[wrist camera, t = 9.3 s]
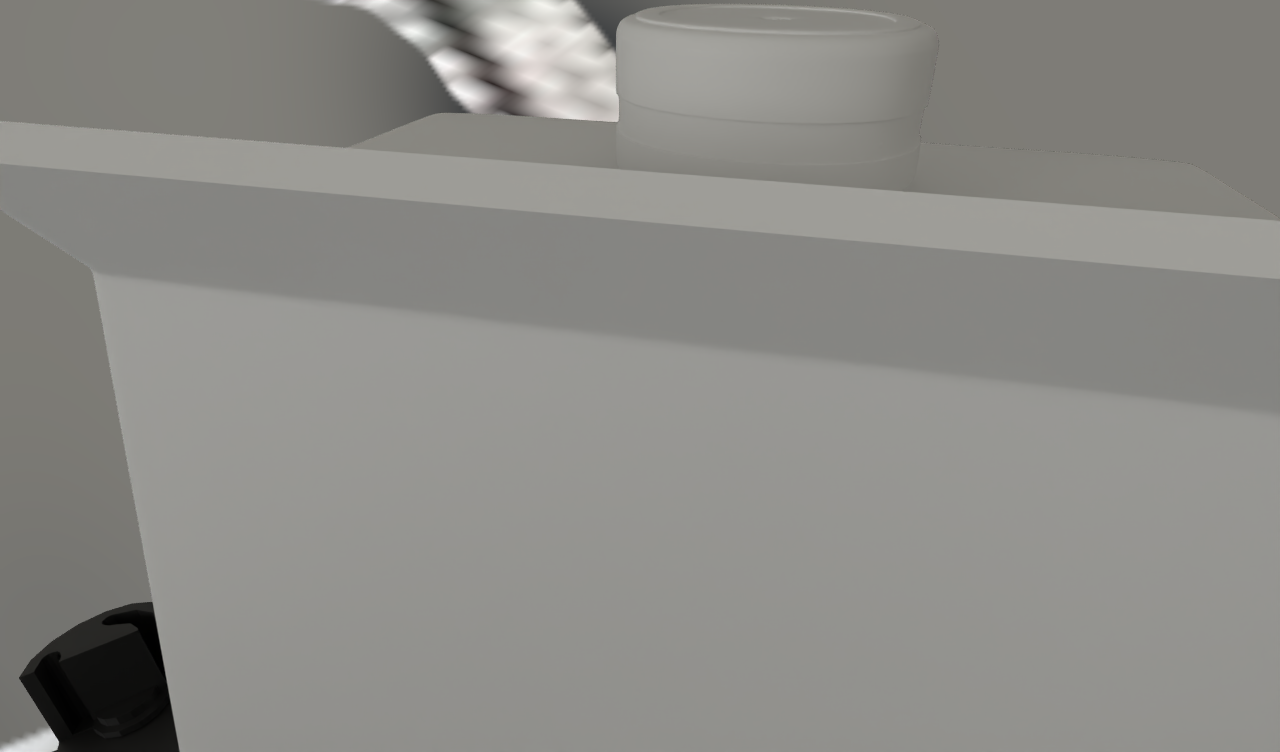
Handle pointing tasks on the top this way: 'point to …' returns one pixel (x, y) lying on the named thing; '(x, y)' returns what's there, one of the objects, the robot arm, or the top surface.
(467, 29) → the top surface
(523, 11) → the top surface
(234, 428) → the milk carton
